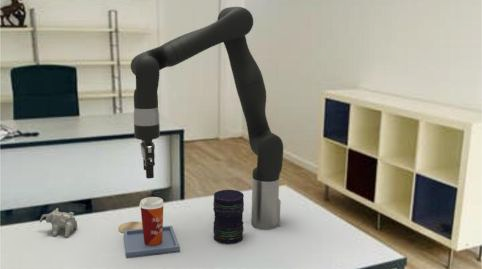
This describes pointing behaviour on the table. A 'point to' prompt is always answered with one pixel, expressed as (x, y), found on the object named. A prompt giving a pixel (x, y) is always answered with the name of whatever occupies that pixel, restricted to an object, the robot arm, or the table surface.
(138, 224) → the cork coaster
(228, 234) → the storage jar
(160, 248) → the tray
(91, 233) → the table surface
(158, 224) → the paper cup
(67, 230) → the elephant statuette
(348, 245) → the table surface
